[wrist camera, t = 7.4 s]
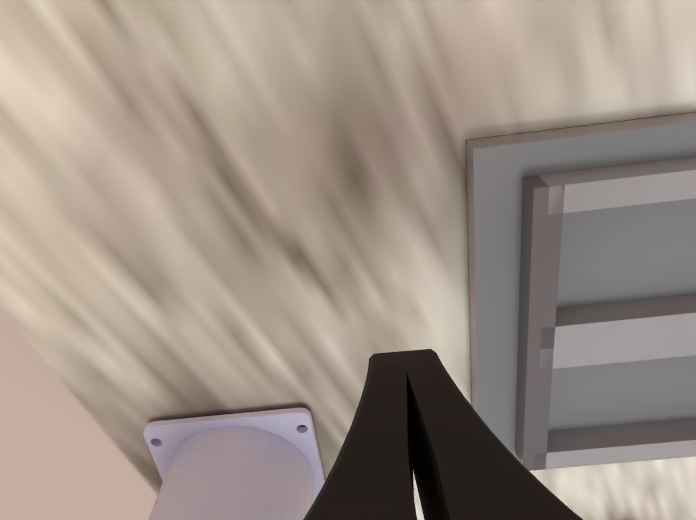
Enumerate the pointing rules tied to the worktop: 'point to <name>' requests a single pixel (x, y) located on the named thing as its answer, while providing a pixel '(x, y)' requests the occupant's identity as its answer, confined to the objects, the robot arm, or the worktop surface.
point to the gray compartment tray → (585, 291)
